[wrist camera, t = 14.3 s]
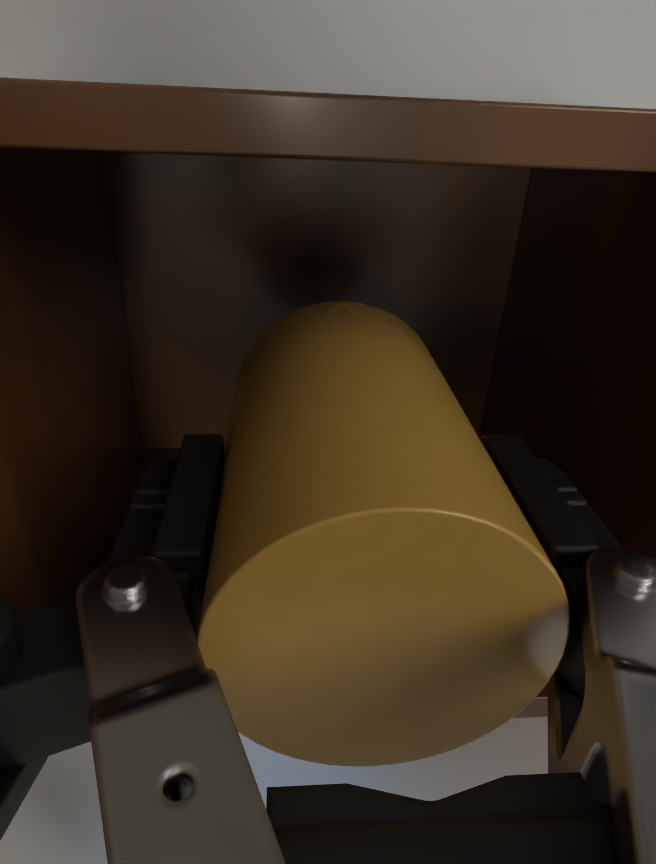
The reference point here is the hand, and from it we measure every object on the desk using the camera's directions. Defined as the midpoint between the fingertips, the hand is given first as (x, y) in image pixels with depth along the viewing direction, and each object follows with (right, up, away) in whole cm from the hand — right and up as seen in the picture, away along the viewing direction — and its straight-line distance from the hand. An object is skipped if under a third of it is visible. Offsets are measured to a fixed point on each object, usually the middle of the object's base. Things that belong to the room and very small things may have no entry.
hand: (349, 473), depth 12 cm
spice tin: (0, +2, +3) cm, 3 cm away
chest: (-1, +6, +10) cm, 12 cm away
